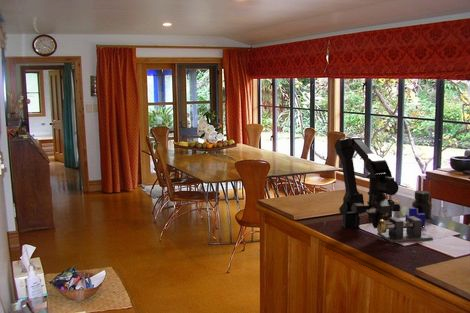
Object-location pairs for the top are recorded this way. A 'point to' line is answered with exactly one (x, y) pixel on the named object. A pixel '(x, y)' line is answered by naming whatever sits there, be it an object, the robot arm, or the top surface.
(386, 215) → the ammunition clip
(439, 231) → the top surface
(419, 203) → the ink bottle
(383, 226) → the shaft
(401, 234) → the housing
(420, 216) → the cable clip
